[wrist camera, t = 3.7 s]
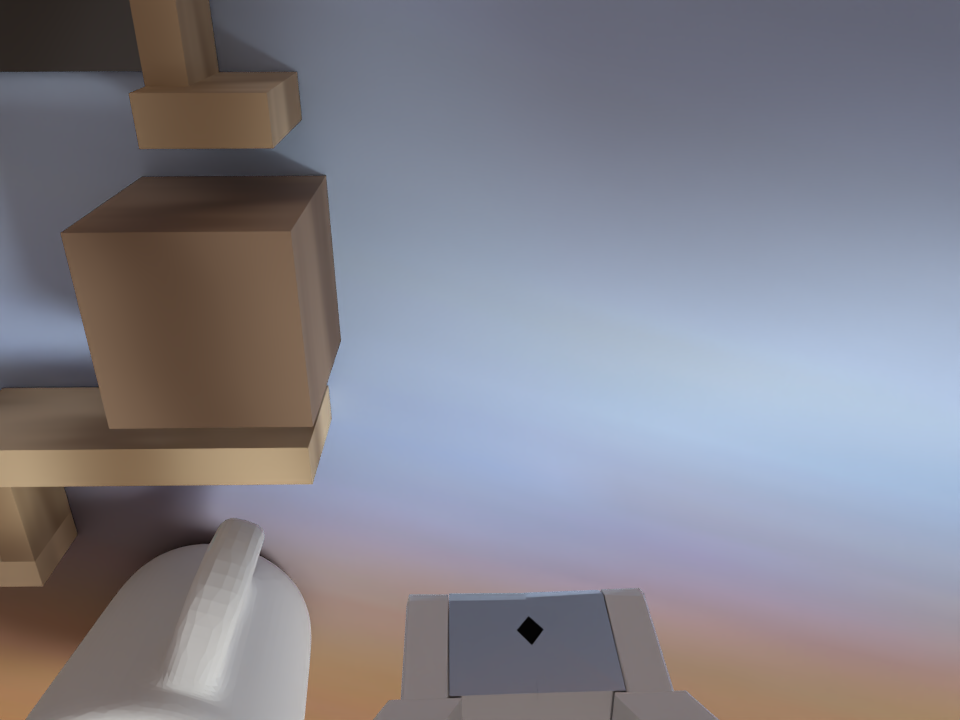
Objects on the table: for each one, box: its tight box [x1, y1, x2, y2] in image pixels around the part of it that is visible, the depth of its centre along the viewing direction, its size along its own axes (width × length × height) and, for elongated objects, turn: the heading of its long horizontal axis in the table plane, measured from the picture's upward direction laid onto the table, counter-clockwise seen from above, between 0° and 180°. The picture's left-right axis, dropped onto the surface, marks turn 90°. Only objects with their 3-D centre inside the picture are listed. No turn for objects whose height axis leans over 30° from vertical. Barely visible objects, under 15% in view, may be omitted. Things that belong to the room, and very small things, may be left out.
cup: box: [25, 518, 311, 720], centre depth 25 cm, size 11×8×8 cm
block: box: [61, 176, 341, 429], centre depth 21 cm, size 5×5×5 cm
